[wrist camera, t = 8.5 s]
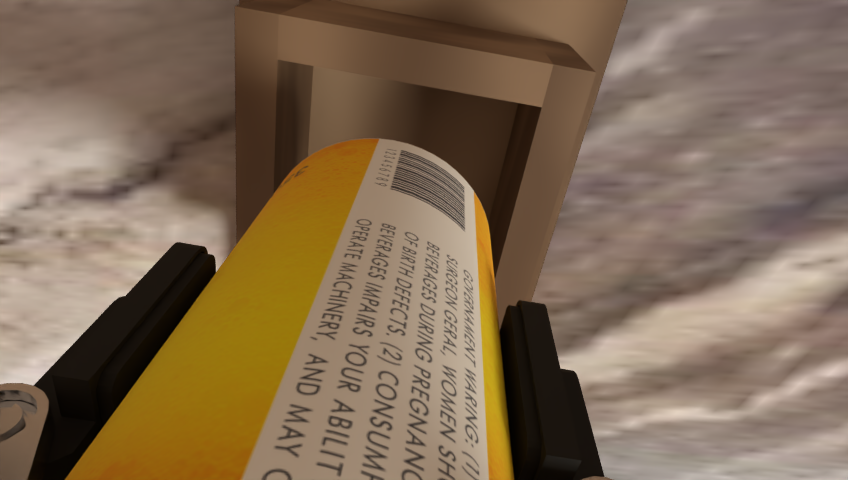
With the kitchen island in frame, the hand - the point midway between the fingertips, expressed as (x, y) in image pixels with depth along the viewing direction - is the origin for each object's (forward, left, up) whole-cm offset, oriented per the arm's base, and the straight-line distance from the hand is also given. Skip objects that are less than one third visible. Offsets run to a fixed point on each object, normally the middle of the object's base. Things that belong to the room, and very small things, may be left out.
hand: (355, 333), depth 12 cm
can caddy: (0, 0, -12) cm, 12 cm away
